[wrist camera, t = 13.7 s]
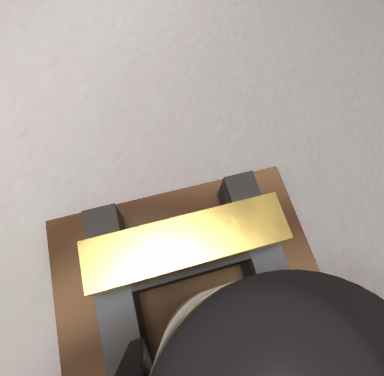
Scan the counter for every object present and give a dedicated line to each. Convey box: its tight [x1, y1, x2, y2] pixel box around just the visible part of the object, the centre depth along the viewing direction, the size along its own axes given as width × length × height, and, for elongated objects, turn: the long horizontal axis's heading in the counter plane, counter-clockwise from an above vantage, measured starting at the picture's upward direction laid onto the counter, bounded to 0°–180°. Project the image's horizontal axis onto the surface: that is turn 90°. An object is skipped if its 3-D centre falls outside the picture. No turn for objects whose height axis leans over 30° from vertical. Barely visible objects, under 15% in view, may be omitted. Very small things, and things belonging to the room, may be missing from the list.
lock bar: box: [77, 192, 293, 296], centre depth 14 cm, size 2×10×2 cm, turn 105°
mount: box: [46, 167, 320, 376], centre depth 16 cm, size 18×16×4 cm
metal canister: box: [149, 269, 384, 376], centre depth 9 cm, size 5×5×12 cm
